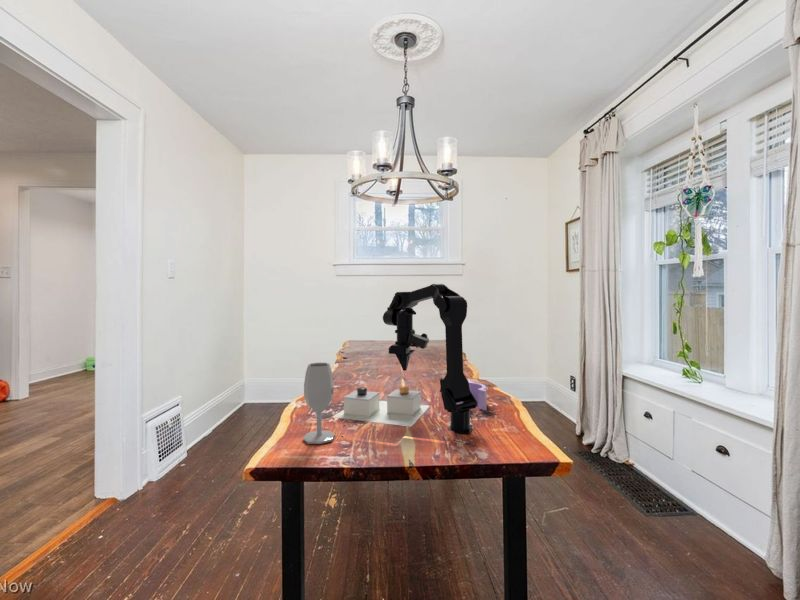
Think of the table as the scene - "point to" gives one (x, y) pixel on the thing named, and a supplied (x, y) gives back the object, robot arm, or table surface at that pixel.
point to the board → (387, 416)
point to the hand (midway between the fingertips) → (404, 370)
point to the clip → (478, 394)
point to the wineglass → (318, 398)
